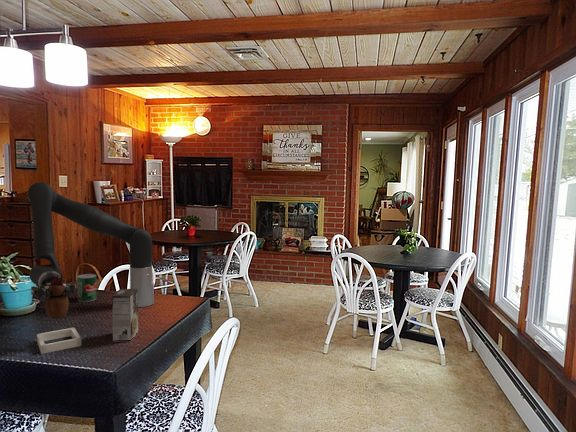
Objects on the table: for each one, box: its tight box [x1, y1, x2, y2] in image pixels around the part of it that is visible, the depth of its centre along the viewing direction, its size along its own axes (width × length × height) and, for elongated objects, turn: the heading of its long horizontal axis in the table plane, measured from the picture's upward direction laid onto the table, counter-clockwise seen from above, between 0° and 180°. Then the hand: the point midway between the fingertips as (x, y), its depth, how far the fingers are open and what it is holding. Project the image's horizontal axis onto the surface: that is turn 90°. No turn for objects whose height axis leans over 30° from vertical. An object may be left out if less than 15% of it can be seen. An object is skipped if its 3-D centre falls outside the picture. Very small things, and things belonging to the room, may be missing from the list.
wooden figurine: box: [44, 272, 70, 320], centre depth 135 cm, size 7×6×15 cm
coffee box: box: [111, 288, 139, 342], centre depth 143 cm, size 9×6×16 cm
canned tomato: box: [76, 273, 97, 303], centre depth 185 cm, size 8×8×11 cm
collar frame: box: [36, 327, 82, 355], centre depth 136 cm, size 11×12×2 cm
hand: (58, 294), depth 132 cm, fingers closed on wooden figurine, 4 cm apart
